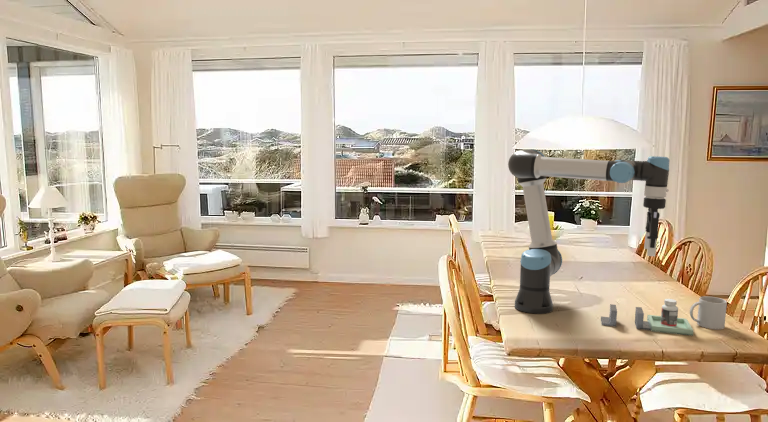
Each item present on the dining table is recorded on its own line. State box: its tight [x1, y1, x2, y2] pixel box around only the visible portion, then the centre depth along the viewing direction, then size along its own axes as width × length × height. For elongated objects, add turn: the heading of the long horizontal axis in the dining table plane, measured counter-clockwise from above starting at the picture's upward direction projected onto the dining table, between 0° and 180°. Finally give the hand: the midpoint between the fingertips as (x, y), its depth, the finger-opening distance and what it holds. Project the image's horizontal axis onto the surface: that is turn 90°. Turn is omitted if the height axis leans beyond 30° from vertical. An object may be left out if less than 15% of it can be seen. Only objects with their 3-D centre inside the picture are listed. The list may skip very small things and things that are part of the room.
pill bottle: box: [660, 298, 679, 327], centre depth 205 cm, size 5×5×10 cm
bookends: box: [600, 303, 652, 332], centre depth 208 cm, size 17×8×6 cm, turn 71°
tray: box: [646, 314, 694, 337], centre depth 205 cm, size 13×13×2 cm
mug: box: [689, 295, 728, 330], centre depth 208 cm, size 11×10×10 cm
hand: (649, 252), depth 213 cm, fingers open, 13 cm apart
